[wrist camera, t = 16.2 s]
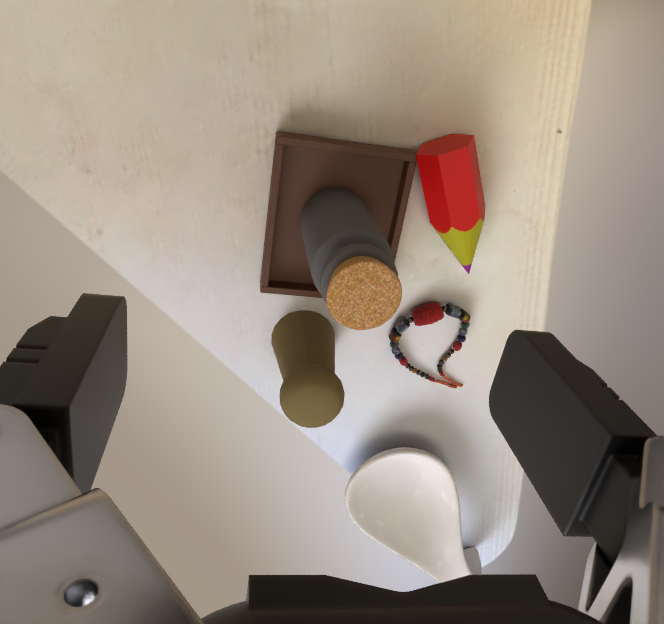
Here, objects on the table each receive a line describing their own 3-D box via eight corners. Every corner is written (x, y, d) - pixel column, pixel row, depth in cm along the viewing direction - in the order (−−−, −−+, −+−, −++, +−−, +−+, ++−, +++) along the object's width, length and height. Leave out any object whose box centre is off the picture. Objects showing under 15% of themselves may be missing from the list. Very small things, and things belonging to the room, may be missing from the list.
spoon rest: (320, 467, 60) (329, 519, 54) (412, 411, 59) (433, 458, 52) (422, 575, 71) (439, 629, 65) (502, 531, 70) (528, 582, 63)
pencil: (436, 272, 52) (450, 293, 48) (408, 148, 46) (422, 160, 42) (485, 256, 52) (503, 275, 48) (464, 129, 46) (483, 140, 42)
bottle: (285, 224, 47) (297, 302, 34) (332, 172, 46) (364, 233, 32) (335, 265, 49) (365, 354, 36) (382, 217, 48) (430, 291, 35)
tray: (276, 130, 44) (277, 135, 42) (411, 149, 46) (418, 155, 44) (260, 282, 50) (260, 292, 48) (381, 293, 52) (385, 303, 50)
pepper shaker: (327, 369, 55) (342, 443, 45) (266, 361, 54) (268, 435, 44) (341, 315, 52) (360, 381, 43) (277, 306, 51) (283, 371, 41)
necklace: (462, 288, 53) (469, 299, 51) (478, 374, 59) (484, 386, 57) (380, 313, 53) (384, 324, 51) (404, 396, 59) (408, 409, 57)
